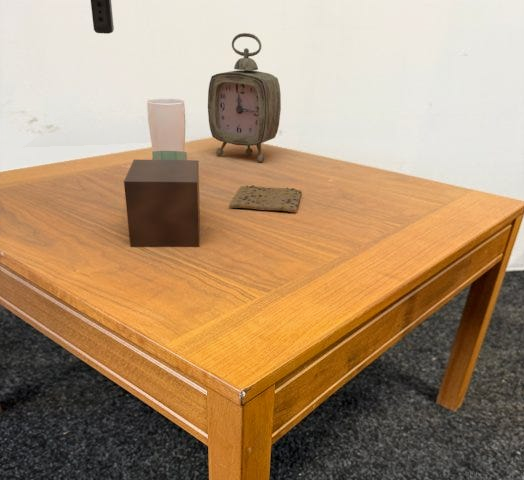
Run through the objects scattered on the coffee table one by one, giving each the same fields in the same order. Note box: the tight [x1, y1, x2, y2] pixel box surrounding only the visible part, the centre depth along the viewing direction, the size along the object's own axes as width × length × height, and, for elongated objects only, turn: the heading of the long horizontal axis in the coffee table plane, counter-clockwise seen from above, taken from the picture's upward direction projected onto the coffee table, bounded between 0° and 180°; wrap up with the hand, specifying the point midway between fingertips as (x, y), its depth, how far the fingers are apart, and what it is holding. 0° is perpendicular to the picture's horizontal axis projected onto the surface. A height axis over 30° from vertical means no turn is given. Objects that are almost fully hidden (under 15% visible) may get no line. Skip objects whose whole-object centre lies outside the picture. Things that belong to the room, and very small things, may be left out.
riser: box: [123, 159, 201, 247], centre depth 83 cm, size 10×12×10 cm
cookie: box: [228, 185, 303, 214], centre depth 100 cm, size 12×12×1 cm
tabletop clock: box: [207, 32, 282, 163], centre depth 121 cm, size 14×9×25 cm, turn 64°
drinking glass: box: [146, 97, 186, 152], centre depth 103 cm, size 7×7×15 cm
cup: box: [151, 151, 188, 160], centre depth 91 cm, size 9×6×6 cm
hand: (104, 32), depth 68 cm, fingers closed
